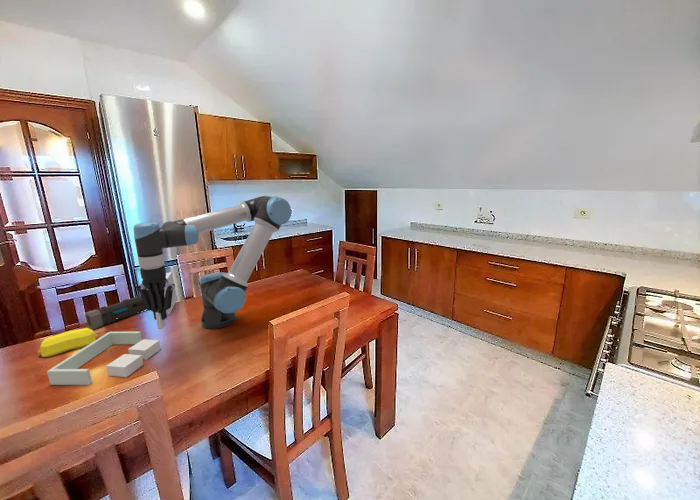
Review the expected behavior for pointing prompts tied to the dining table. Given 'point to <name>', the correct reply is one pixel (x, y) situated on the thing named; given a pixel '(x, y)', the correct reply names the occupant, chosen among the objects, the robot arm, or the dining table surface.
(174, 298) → the skincare box
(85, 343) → the yellow bevelled bar
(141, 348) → the tile
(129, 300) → the black handheld tool
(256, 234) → the robot arm
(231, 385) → the dining table surface
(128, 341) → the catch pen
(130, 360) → the tile
